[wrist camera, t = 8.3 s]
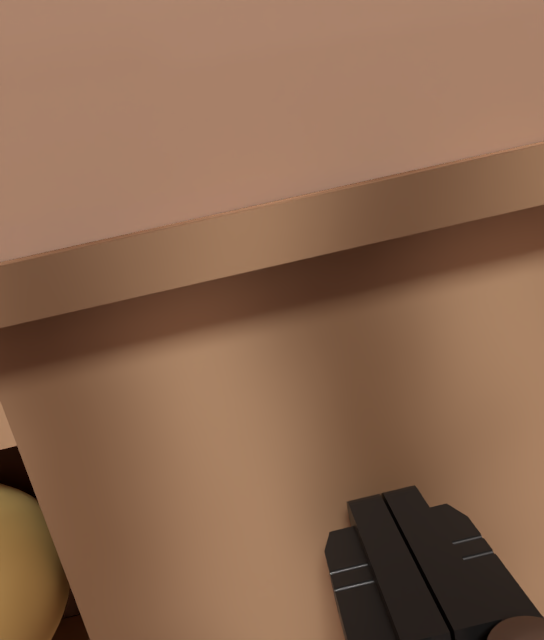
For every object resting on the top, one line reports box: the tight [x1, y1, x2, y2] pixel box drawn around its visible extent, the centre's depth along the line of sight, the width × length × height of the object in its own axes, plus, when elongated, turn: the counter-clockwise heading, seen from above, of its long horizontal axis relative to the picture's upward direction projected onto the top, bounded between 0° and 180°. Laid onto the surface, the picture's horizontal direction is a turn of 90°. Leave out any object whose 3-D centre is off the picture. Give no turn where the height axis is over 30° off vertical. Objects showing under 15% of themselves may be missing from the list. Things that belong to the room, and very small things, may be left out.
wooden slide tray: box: [0, 141, 544, 640], centre depth 12 cm, size 26×14×4 cm, turn 102°
